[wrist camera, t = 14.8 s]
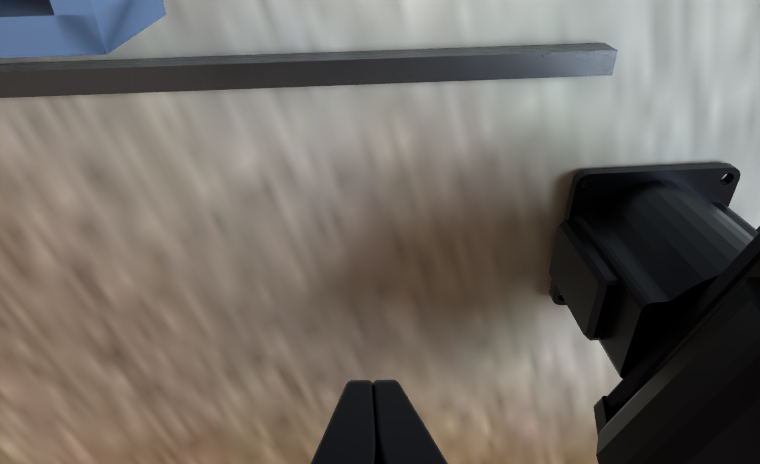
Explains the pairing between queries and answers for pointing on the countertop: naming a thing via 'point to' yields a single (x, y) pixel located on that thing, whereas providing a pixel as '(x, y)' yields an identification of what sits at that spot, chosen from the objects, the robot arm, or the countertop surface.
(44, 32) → the box
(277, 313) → the countertop surface
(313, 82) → the track
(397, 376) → the countertop surface
